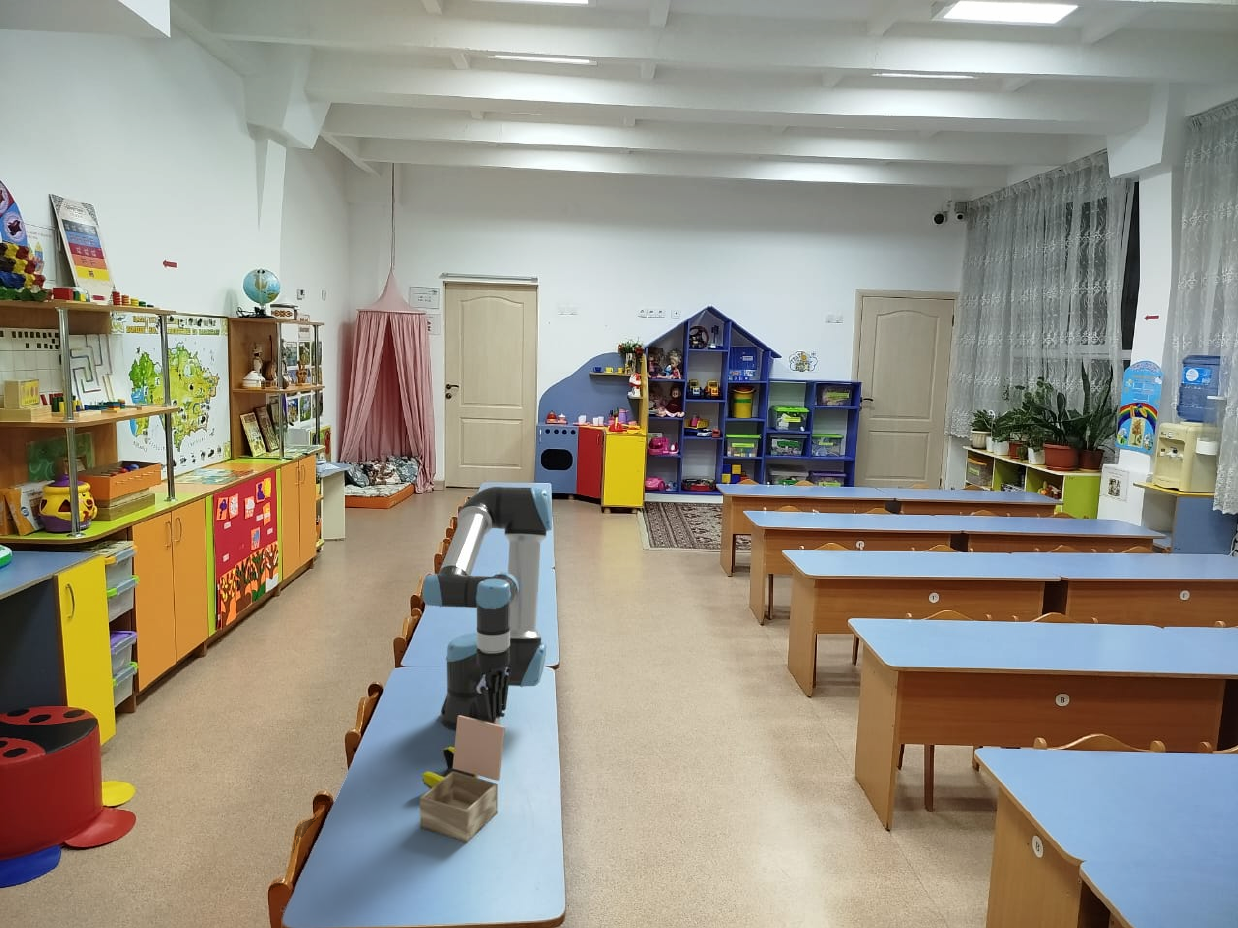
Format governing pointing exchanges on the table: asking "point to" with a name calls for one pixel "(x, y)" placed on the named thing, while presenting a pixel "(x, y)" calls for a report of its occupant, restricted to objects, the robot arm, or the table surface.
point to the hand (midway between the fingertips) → (493, 743)
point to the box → (459, 806)
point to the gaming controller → (433, 779)
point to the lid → (478, 747)
